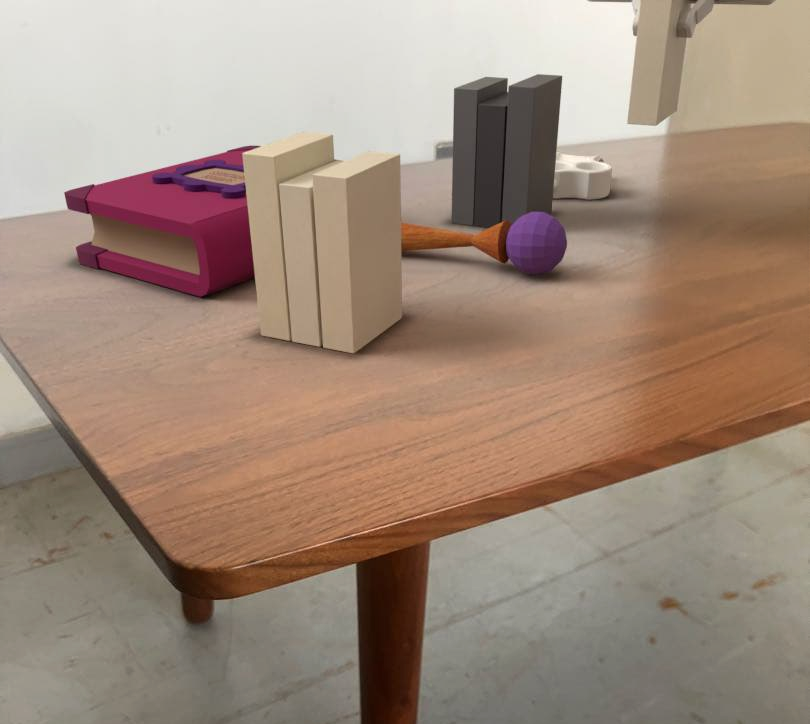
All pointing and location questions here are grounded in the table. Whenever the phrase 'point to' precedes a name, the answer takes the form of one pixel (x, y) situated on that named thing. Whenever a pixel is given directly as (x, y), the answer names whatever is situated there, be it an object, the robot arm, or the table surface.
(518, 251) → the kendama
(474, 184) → the grey books
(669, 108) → the cream book
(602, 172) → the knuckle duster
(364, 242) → the cream books
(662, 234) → the table surface
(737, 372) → the table surface
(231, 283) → the book
